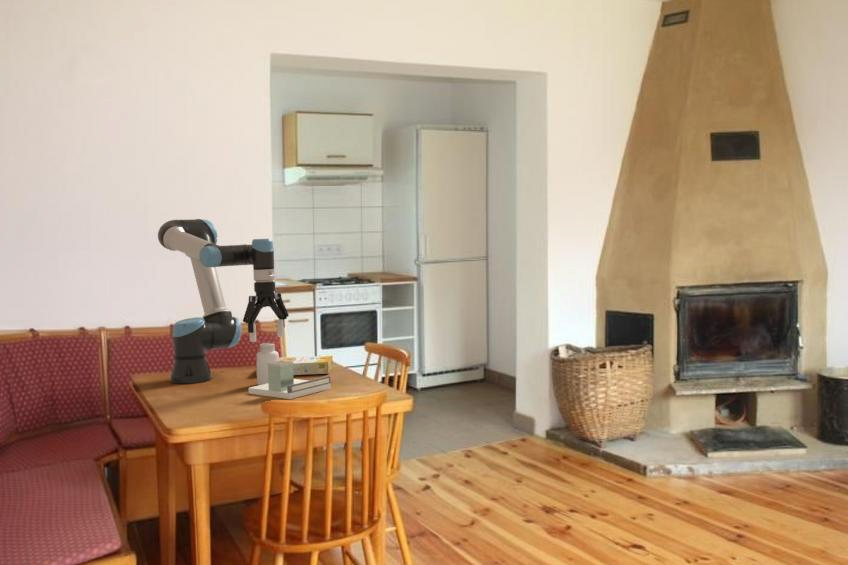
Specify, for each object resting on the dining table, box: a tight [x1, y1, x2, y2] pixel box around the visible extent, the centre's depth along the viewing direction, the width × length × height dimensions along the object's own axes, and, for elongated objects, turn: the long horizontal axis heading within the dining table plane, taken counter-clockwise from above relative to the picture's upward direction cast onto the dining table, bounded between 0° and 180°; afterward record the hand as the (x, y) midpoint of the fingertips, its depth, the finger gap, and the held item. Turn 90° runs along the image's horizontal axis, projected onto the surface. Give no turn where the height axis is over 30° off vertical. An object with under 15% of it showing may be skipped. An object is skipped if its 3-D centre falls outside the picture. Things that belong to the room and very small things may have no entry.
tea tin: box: [267, 360, 295, 391], centre depth 282 cm, size 6×6×9 cm
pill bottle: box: [256, 342, 280, 386], centre depth 301 cm, size 8×8×15 cm
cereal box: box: [255, 355, 334, 377], centre depth 328 cm, size 20×6×28 cm
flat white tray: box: [248, 375, 332, 400], centre depth 288 cm, size 20×20×4 cm
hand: (267, 339), depth 301 cm, fingers open, 13 cm apart
